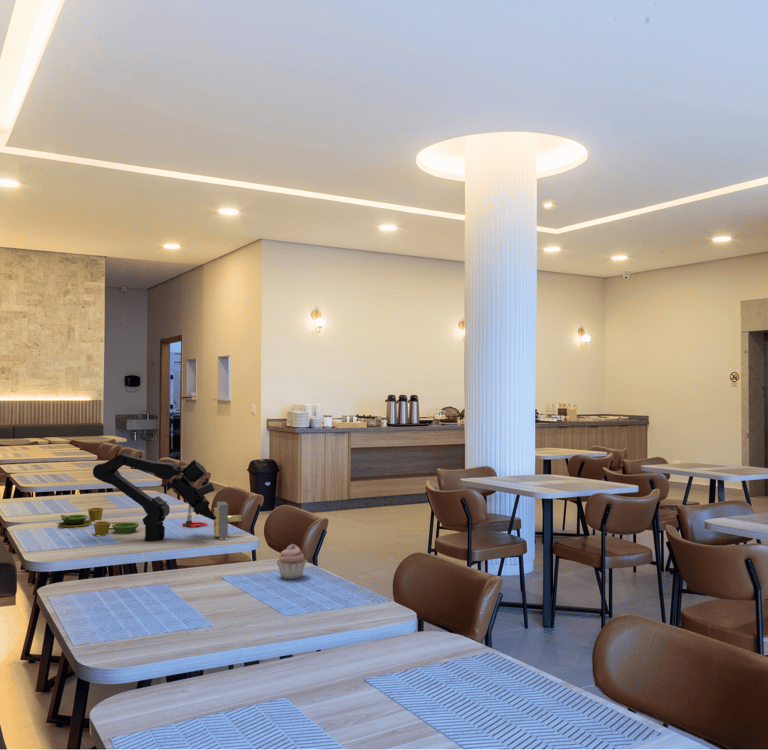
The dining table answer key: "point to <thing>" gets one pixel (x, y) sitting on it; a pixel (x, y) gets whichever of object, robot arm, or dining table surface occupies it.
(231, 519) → the brass pin
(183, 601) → the dining table surface
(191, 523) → the tow hook
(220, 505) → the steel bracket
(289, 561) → the cupcake
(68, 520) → the tableware set
